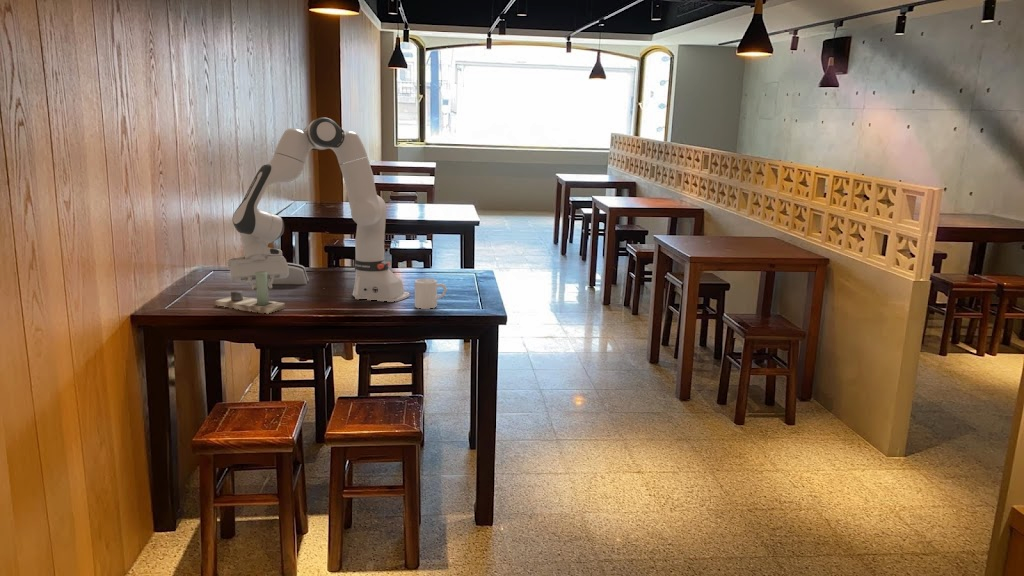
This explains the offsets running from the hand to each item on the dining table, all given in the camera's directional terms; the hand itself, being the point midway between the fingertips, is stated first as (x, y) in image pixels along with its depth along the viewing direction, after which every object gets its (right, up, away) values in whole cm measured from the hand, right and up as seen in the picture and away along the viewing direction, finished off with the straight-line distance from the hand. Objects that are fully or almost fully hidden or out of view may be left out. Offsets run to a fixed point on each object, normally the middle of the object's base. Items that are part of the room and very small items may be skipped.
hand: (262, 288), depth 263 cm
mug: (+59, -7, +12) cm, 60 cm away
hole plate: (-6, -7, +5) cm, 10 cm away
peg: (0, -6, +2) cm, 6 cm away
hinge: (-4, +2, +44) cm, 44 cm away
